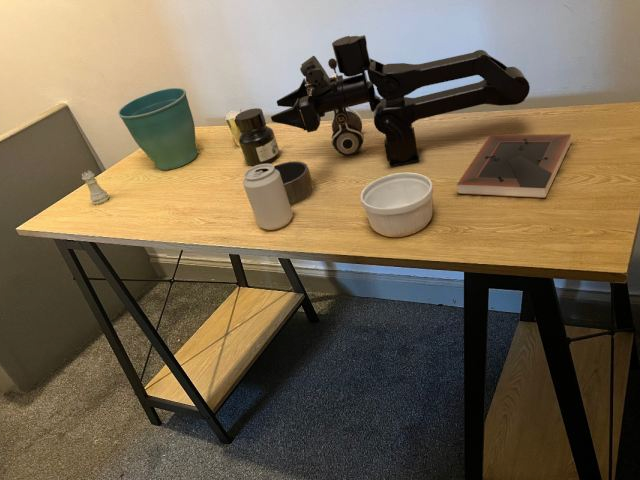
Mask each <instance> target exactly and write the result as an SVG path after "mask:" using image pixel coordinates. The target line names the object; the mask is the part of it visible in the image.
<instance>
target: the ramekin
mask: <svg viewBox="0 0 640 480" xmlns="http://www.w3.org/2000/svg"><path fill="white" fill-rule="evenodd" d="M433 194H434V186H433V182H432V180H431V178H430V177H428V176H427V175H424V174H421V173H419V172H411V171H409V172H396V173H391V174H388V175H384V176H381V177H378V178H376V179H374V180H372V181H371V182H369V183H368V184H367V185H366V186H365V187H364V188H363V189H362V191H361V193H360V202H361V206H362V208H363V209H364V211H365V215H366V216H367V219H368V221H369V222H368V223H369V225H370V227H371V228H372V230H374V231H375V232H376V233H378V234H380V235H381V236H384V237H389V238H402V237H409V236H411V235H414V234H416V233H418V232H420V231H422V230H423V229H425V228H426V226H427V225H429V222H430V221H431V220H432V217H433V202H434V201H433Z"/></svg>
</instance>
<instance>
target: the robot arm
mask: <svg viewBox="0 0 640 480" xmlns="http://www.w3.org/2000/svg"><path fill="white" fill-rule="evenodd" d="M367 44H368V42H367V36H366V35H364V34H363V35H360V36H359V35H352V36H350V35H347V36H342V37H340V38H338V39H335V40H334V41H333V42H332V43H331V46H332V49H333V54H334V57H335V58H334V59H335V60H336V61H337V68H338V72H339V73H340V74H343V77H345V78H343V79H341V80H338V79H337V78H335V77H332V78H331V77H329V75H328V73H327V71H326V70H325V68H324V67H323V66H322V64H321V62H320V61H319V60H318V57H316V56H315V55H312V56H311V57H309V58H308V59H306V61H304V62H302V63H301V65H300V66H301V67H300V68H299V70H300V73H301V74H302V76H304V78H303V79H302V81H301V83H300V85H299V87H298V88H297V89H295V90H293V91H291V92H290V93H288V94H286V95H285V96H283V97H280V98H279V99H277V100H276V105H277V106H278V107H283V108H287V109H285V110H282V111H280V112H278V113H275V114H273V115H271V116H270V120H271V122H272V123H276V124H280V125H286V126H290V127H295V128H298V129H301V130H302V131H306V132H307V133H312V132H317V131H318V129H319V127H321V121H322V120H321V119H322V118H323V117H324V118H325V116H326V114H327V113H331V112H334V111H335V110H338V112H339V113H340V112H343V110H344V108H346V109H347V107H348V108H350V107H355V106H358V105H362V104H367V103H368V105H369V108H370V111H371V112H373V124H374V127H375V129H376V130H377V131H378V132H379V133H382V135H385V139H384V142H383V143H384V144H383V146H384V151H385V155H386V160H387V162H389V167H390V168H393V167H398V166H399V167H400V166H405V165H410V164H415V163H419V162H420V153H419V148H418V145H417V144H418V143H417V138H416V132H415V127H413V123H415V122H417V121H419V120H423V119H428V118H431V117H436V116H441V115H444V114H448V113H452V112H456V111H461V110H465V109H468V108H469V109H470V108H473V107H477V106H482V105H491V106H500V107H501V106H502V107H503V106H517V105H520V104H522V103H523V102H525V100H526V98H527V97H528V96H529V94H530V91H531V90H530V89H531V86H530V82H529V81H528V79H527V78H526V77H525V75H524V74H523V72H522V71H521V69H519V68H518V67H516V66H506V64H504V63H503V62H501V61H500V60H498V59H496V58H495V57H493V56H491V55H490V54H489V53H488V52H487V51H486V50H484V49H477V50H475V51H473V52H469V53H464V54H459V55H455V56H451V57H446V58H441V59H437V60H432V61H427V62H422V63H416V64H415V63H414V64H413V63H406V62H395V63H387V64H386V63H385V64H384V63H382V62H379V61H377V60H375V59H373V58H370V54H369V50H368V45H367ZM366 71H367V73H366ZM475 76H479V77H480V78H482V80H481V81H478V82H474V83H469V84H466V85H465V84H464V85H462V86H457V87H453V88H449V89H445V90H441V91H437V92H433V93H429V94H425V95H420V96H416V97H409V96H408V95H410V94H412V93H413V92H415V91H416V90H418V89H420V88H424V87H428V86H432V85H437V84H442V83H447V82H452V81H457V80H460V79H466V78H470V77H475ZM375 87H376V88H375ZM375 89H376V90H375ZM376 91H377V94H376ZM378 95H379V96H378ZM407 96H408V97H407Z"/></svg>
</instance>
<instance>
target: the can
mask: <svg viewBox="0 0 640 480" xmlns="http://www.w3.org/2000/svg"><path fill="white" fill-rule="evenodd" d="M274 166H275V165H273V164H272V163H268V164H260V165H256V166H251V167H250V168H248V169H247V170H246V171H245V172H244V173H243V178H244V179H243V181H242V185H243V188H244V190H245V193H246V196H247V199H248V202H249V204H250V207H251V210H252V212H253V214H254V218H255V220H256V223H257V226H258V227H259V228H261V229H263V230H266V231H277V230H281V229H282V228H284V227H286V226H287V225H288V224H289V223H290V222H291V220H292V218H293V216H294V213H293V209H292V205H290V203H289V200H288V197H287V194H286V191H285V188H284V185H283V181H282V178H281V175H280V172H279V171H278V170H276V169H274Z"/></svg>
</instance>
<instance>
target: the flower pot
mask: <svg viewBox="0 0 640 480" xmlns="http://www.w3.org/2000/svg"><path fill="white" fill-rule="evenodd" d="M117 114H118V117H119V118H120V119H121V120H122V122H123V123H124V125H125V127H126V128H127V130H128V132H129V133H130V136H131V137H132V139H133V140H134V141H135V143H136V144H137V146H138V147H139V148H140V150H142V151H143V152H144V153H145V154H146V155H147V156H148V158H149V159H150V160H151V161H152V163H154V165H155V167H156V168H157V169H159V170H163V171H167V170H173V169H178V168H180V167H183V166H185V165H187V164H189V163H190V162H192V161H193V160H195V158H197V156H198V154H199V150H198V149H197V148H198V147H197V141H196V140H197V139H196V125H195V121H194V117H193V113H192V110H191V107H190V104H189V100H188V96H187V92H186V90H185V89H184V88H181V87H172V88H165V89H159V90H156V91H153V92H149V93H147V94H144V95H142V96H139V97H137V98H135V99H133V100H130V101H129V102H128V103H126V104H125V105H123V106H122V107H121V108H120V109H119V110H118V112H117Z"/></svg>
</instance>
